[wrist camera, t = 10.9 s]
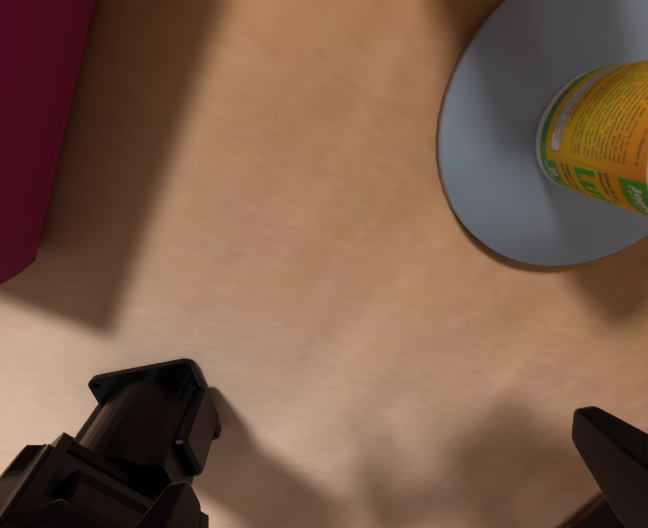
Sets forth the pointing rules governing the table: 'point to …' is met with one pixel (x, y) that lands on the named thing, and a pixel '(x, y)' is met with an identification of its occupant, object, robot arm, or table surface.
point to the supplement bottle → (599, 135)
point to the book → (34, 114)
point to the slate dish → (532, 128)
